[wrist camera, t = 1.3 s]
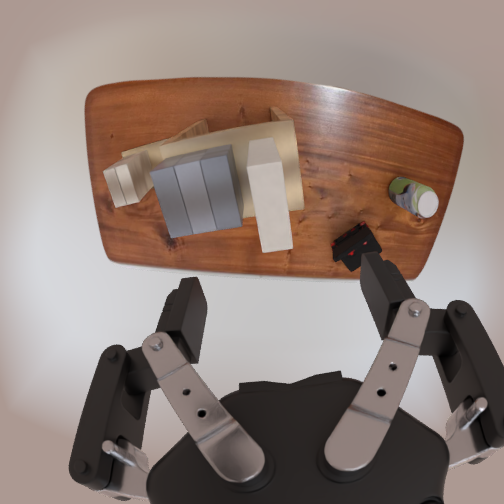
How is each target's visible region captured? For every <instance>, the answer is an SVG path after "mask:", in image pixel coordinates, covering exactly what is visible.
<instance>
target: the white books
mask: <svg viewBox="0 0 504 504" xmlns="http://www.w3.org/2000/svg"><path fill="white" fill-rule="evenodd" d="M169 139H170V138H168V139H164V140H161V141H157V142H154V143H150V144H147V145H143V146H140V147H137V148H133V149H130V150H127V151H124V152H122V153H121V154H122V157H123V158H122V159H121V160H119V161H118V162H116V163H115V164H113V165H112V166H110V167H109V168H107V169H106V170H104V171H103V173H104V176H105V179H106V182H107V185H108V187H109V190H110V193H111V196H112V199H113V201H114V204H115V207H120V206H124V205H128V204H132V203H136V202H139V201H140V200H141V199H142V198H143V197H144V196H145V194H146V193H147V192H148V191H149V190H150V189H151V188H154V185H153V182H152V178H151V175H150V172H151V171H152V170H153V169H154V168H155V167H156V166H157V165H158V164H160V163H161V162H162V161H163V158H162V155H161V151H160V147H159V146H160V145H161V144H163V143H164V142H166V141H167V140H169Z"/></svg>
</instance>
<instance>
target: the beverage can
mask: <svg viewBox="0 0 504 504" xmlns="http://www.w3.org/2000/svg"><path fill="white" fill-rule="evenodd" d="M389 197H390V199H391V200H392V202H393V203H395V204H397V205H398V206H400V207H402V208H404V209H405V210H407V211H409V212H411V213H412V214H414V215H416V216H417V217H419V218H426V217H431V216H432V215H433V214H434V213H435V212H436V210H437V208H438V198H437V196H436V194H435V192H434V191H433V190H432V189H431V188H430V187H428V186H425V185H423V184H420V183H418V182H415V181H413V180H410V179H407V178H405V177H397V178H395V179H394V180H393V181H392V182H391V184H390V186H389Z"/></svg>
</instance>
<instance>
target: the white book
mask: <svg viewBox="0 0 504 504" xmlns="http://www.w3.org/2000/svg"><path fill="white" fill-rule="evenodd" d="M247 172H248V178H249V183H250V188H251V193H252V199H253V204H254V209H255V214H256V220H257V225H258V230H259V236H260V241H261V247H262V252H263V253H266V252H273V251H280V250H287V249H293V243H292V234H291V226H290V218H289V210H288V203H287V195H286V188H285V181H284V174H283V167H282V161H281V158H280V156H279V153H278V150H277V147H276V144H275V142H274V139H273V137H270V138H263V139H257V140H251V141H249V149H248V158H247Z"/></svg>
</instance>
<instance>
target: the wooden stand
mask: <svg viewBox="0 0 504 504" xmlns="http://www.w3.org/2000/svg"><path fill="white" fill-rule="evenodd" d="M270 112H271V118H272V122H265V123H259V124H252V125H246V126H241V127H235V128H230V129H225V130H220V131H215V132H210V133H209V130H208V125H207V121H206V119H202V120H199V121H198V122H196V123H194V124H193V125H191V126H189V127H188V128H186V129H184V130H183V131H181V132H180V133H178V134H177V135H175V136H173V137H172V138H170V139H169V140H167V141H166V142H164V143H163V144H161V145H160V146H159V147H160V151H161V155H162V158H163V161H162V162H161V163H160V164H158V165H157V166H156V167H155V168H154V169H153V170H152V171H151V172H150V175H151V178H152V182H153V185H154V188H155V191H156V194H157V198H158V201H159V204H160V207H161V210H162V213H163V216H164V219H165V222H166V225H167V228H168V231H169V234H170V237H171V238H175V237H181V236H187V235H193V234H199V233H205V232H211V231H217V230H223V229H230V228H236V227H242V223H243V218H247V217H253V216H256V214H255V209H254V204H253V199H252V193H251V188H250V183H249V178H248V172H247V158H248V149H249V141H251V140H257V139H263V138H270V137H273V139H274V142H275V144H276V147H277V150H278V153H279V156H280V158H281V161H282V167H283V174H284V181H285V188H286V195H287V203H288V210H289V211H294V210H302V209H304V198H303V189H302V180H301V172H300V164H299V156H298V148H297V141H296V134H295V127H294V120H293V119H292V118H290V117H289V116H288V115H287V114H285V113H284V112H283V111H282V110H280V109H279V108H278V107H277V106H274V107H270Z"/></svg>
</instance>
